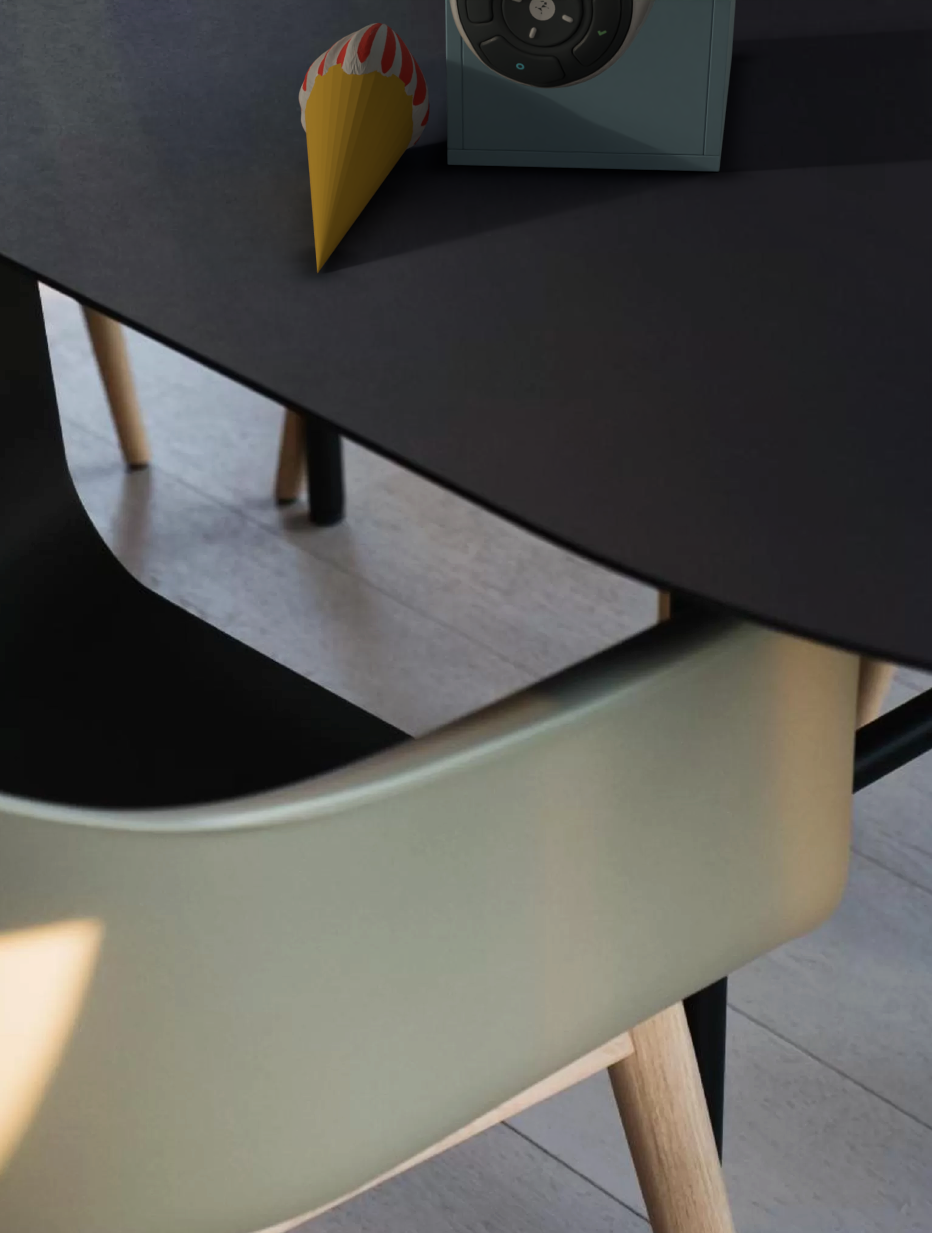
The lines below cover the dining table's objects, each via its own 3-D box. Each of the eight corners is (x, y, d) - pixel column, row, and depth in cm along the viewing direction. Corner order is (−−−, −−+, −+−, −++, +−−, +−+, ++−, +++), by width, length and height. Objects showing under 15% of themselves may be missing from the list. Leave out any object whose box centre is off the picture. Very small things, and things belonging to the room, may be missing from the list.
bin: (731, 58, 120) (743, -111, 115) (719, 171, 109) (731, -11, 103) (485, 54, 122) (485, -113, 117) (447, 164, 111) (445, -15, 105)
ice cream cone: (305, 347, 106) (372, 98, 117) (409, 293, 102) (468, 41, 113) (222, 256, 102) (300, 9, 113) (327, 196, 98) (396, -53, 110)
